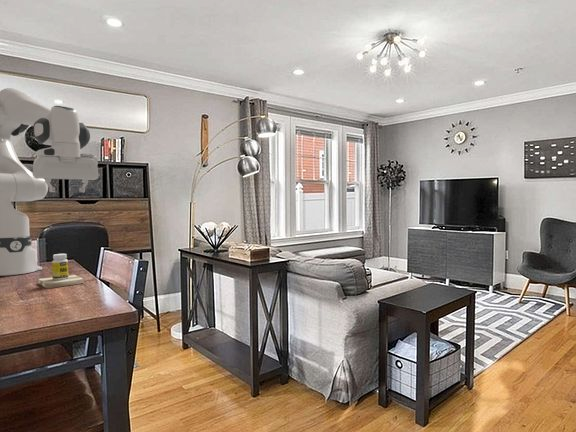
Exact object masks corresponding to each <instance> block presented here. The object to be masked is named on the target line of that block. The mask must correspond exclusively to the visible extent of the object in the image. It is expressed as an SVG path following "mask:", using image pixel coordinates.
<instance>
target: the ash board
mask: <svg viewBox="0 0 576 432" xmlns="http://www.w3.org/2000/svg"><path fill="white" fill-rule="evenodd" d="M37 280H38V281H37V282H38V284H39V285H40V286H42V287H44V288H45V289H46V290H47V289H54V288H61V287H67V286H74V285H75V286H77V285H82V284H81V283H83V284H85V281H84V280H85V279H84V278H82V277H80V276H78V275H76V274H74V273H73V274H72V273H71V274H68V278H67V279H64V280H53V278H52V276H50V277H42V278H38V279H37Z"/></svg>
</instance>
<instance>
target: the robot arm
mask: <svg viewBox="0 0 576 432" xmlns="http://www.w3.org/2000/svg"><path fill="white" fill-rule="evenodd" d="M30 126H32V127H33V129H32V132H33V137H34V138H35V140H37V142H38V143H40V144H42V145H46V146H49V147H44V148H41V149H38V150H36V152H35V155H36V158H35V159H34V160H33V164H32V171H31V170H30V169H28V168H27V167H26V166H25V165H24V164H23V163H22V162H21V161H20V159H19V157H18V155H17V153H16V150H15V148H14V147H15V146H14V145H13V143H12V139H11V136H13V137H17V136H19V135H20V134H21V133H24V132H25V131H26V130H27V129H29V127H30ZM90 140H91V134H90V131H89V129H88V127H87V126H86V125H85V124H84V122H80V120H79V115H78V112H77V109H75V108H73V107H69V106H68V107H67V106H62V105H53V106H52V107H51V109H50V108H49V107H46V106H45V105H44V104H41V102H38V101H37V100H35V99H34V98H32V97H31V96H29V95H28V94H26V93H24V92H23V91H21V90H18V89H15V88H10V87H9V88H8V87H6V88H3V89H1V90H0V276H15V275H22V274H28V273H29V274H30V273H34V272H36V271H41V270H43V267H42V266H41V265H40V266H39V265H38V257H37V249H35V248H34V247H32V236H31V235H30V234H31V233H30V218H29V217H28V215H27V214H26V213H24V212H23V211H20V210H18V209H15V208H14V207H13V203H14V202H34V201H39V200H43V199H45V197H46V196H47V194H48V191H49V193H56V187H55V186H53V185H52V184H51V182H52V180H80V181H81V182H82V183H83V184H82V185H81V187H78V190H79V191H78V192H79V193H85V192H86V187H87V185H88V184H89V181H95V180H98V179H99V169H98V165H99V160H98V157H97V156H95V155H94V154H86V153H81V150H82V149H83V148H85V147H86V146H87V145H88V144H89V142H90ZM12 202H13V203H12Z"/></svg>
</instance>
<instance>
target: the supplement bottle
mask: <svg viewBox="0 0 576 432" xmlns="http://www.w3.org/2000/svg"><path fill="white" fill-rule="evenodd" d="M67 255H68V254H67V253H57V254H53V255H52V259H53V260H52V261H51V269H52V271H51V273H52V276H51V277H52V278H53V280H64V279H67V278H68V275H69V260H68V259H67V258H68V256H67Z"/></svg>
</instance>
